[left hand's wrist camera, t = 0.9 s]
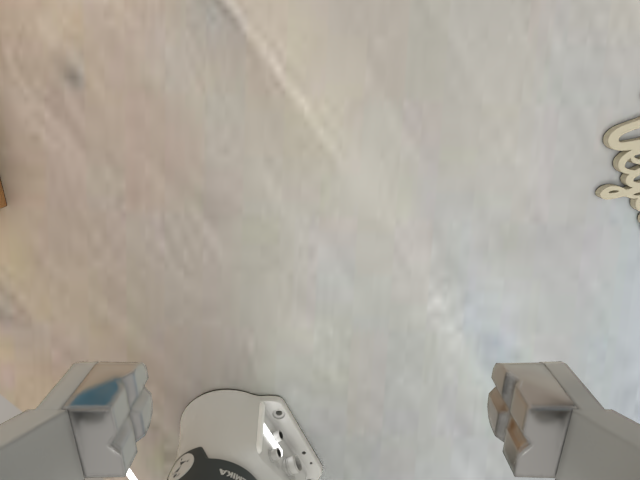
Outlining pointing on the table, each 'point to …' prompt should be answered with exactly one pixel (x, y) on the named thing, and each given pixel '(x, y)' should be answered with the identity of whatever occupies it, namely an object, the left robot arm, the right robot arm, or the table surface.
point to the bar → (2, 197)
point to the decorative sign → (629, 148)
